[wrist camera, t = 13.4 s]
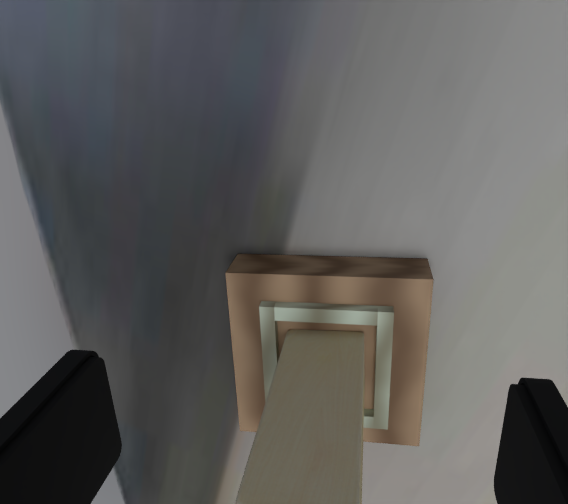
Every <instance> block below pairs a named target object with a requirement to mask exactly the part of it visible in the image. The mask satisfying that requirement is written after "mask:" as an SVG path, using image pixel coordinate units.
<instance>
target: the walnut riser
mask: <svg viewBox="0 0 568 504" xmlns="http://www.w3.org/2000/svg"><path fill="white" fill-rule="evenodd" d="M226 284H227V294H228V305H229V316H230V327H231V338H232V348H233V359H234V370H235V381H236V392H237V403H238V413H239V424H240V431H250V432H257V429H258V426H259V422H260V419H261V416H262V413H263V410H264V406H265V403H266V400H267V396H268V393H269V390H270V386H271V383H272V380H273V376H274V373H275V370H276V367H277V363H278V360H279V357H280V354H281V350H282V347H283V344H284V340H285V337H286V334H287V332H288V331H289V330H322V331H355V332H363V333H364V370H365V390H364V425H363V441H365V442H376V443H388V444H399V445H411V446H419V441H420V430H421V418H422V406H423V395H424V383H425V372H426V360H427V348H428V337H429V325H430V314H431V302H432V290H433V276H432V273H431V270H430V266H429V263H428V259H421V258H382V257H343V256H304V255H265V254H237V256H236V257H235V259H234V261H233V262H232V264H231V265H230V267H229V268H228V270H227V271H226Z"/></svg>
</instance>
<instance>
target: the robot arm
mask: <svg viewBox="0 0 568 504" xmlns="http://www.w3.org/2000/svg"><path fill="white" fill-rule="evenodd" d="M121 447H122V444H121V438H120V433H119V428H118V424H117V419H116V414H115V410H114V405H113V400H112V395H111V391H110V386H109V381H108V377H107V372H106V367H105V363H104V360H103V359H102V358H100V357H98V354H97V353H96V352H94V351H85V350H70V351H68V352H67V353H66V354H65V355H64V356H63V357H62V358H61V359H60V360H59V361H58V362H57V363H56V364H55V365H54V366H53V367H52V368H51V369H50V370H49V371H48V372H47V373H46V374H45V375H44V376H43V377H42V378H41V379H40V380H39V381H38V382H37V383H36V384H35V385H34V386H33V387H32V388H31V389H30V390H29V391H28V392H27V393H26V394H25V395H24V396H23V397H22V398H21V399H20V400H19V401H18V402H17V403H16V404H14V405H13V406H12V407H11V408H10V410H8V412H7V413H6V414H5V415H3V416H2V418H0V504H91V502H92V500H93V499H94V497H95V496H96V494H97V492H98V491H99V489H100V488H101V486H102V484H103V483H104V481H105V479H106V478H107V476H108V475H109V473H110V471H111V470H112V468H113V466H114V465H115V463H116V462H117V460H118V458H119V456H120V453H121ZM494 491H495V496H496V500H497V503H498V504H568V407H567V405H566V404H565V402H564V400H563V398H562V397H561V395H560V393H559V391H558V389H557V388H556V386H555V384H554V383H553V381H552V380H549V379H534V378H521V379H520V380H519V383H518V384H511V385H510V387H509V392H508V398H507V404H506V410H505V416H504V422H503V428H502V434H501V440H500V446H499V452H498V458H497V464H496V470H495V476H494Z"/></svg>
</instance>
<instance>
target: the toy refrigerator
mask: <svg viewBox="0 0 568 504" xmlns="http://www.w3.org/2000/svg"><path fill="white" fill-rule="evenodd" d="M364 390H365V370H364V333H363V332H355V331H322V330H289V331H288V332H287V334H286V337H285V340H284V344H283V347H282V350H281V354H280V357H279V360H278V363H277V367H276V370H275V373H274V376H273V380H272V383H271V386H270V390H269V393H268V396H267V400H266V403H265V406H264V410H263V413H262V416H261V419H260V422H259V426H258V429H257V432H256V435H255V439H254V442H253V445H252V448H251V452H250V455H249V458H248V461H247V465H246V468H245V471H244V475H243V478H242V481H241V484H240V488H239V491H238V495H237V498H236V503H235V504H362V461H363V425H364Z"/></svg>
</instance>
